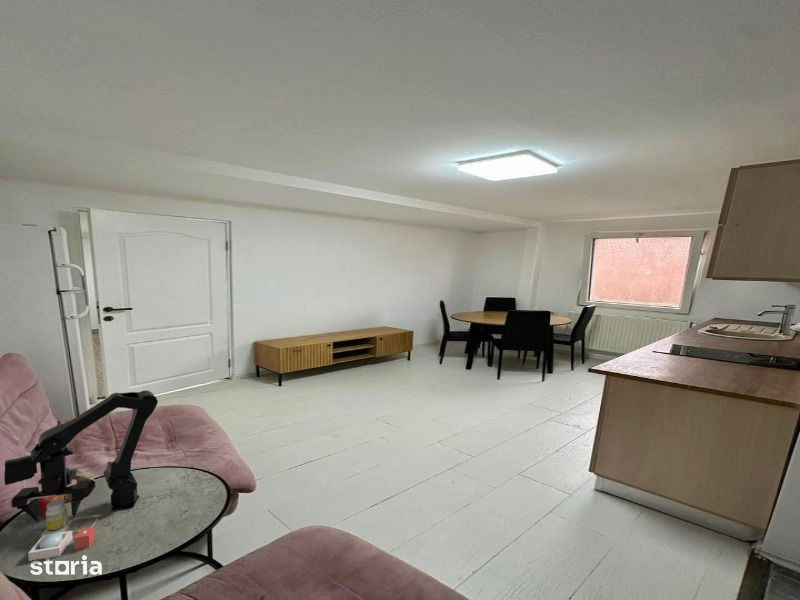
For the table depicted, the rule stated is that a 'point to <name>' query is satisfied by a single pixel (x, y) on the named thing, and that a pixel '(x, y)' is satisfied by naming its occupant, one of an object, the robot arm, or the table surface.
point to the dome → (51, 540)
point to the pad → (57, 531)
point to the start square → (83, 518)
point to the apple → (45, 501)
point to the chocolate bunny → (80, 476)
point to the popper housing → (50, 552)
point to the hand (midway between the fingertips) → (56, 518)
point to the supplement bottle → (56, 516)
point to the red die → (84, 538)
